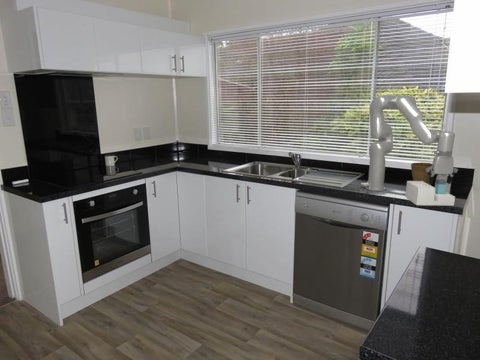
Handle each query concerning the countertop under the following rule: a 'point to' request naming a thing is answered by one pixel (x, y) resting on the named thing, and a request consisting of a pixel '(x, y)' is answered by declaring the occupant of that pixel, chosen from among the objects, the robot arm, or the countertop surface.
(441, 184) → the light blue block
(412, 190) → the console
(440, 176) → the pill bottle
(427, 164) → the plant pot
